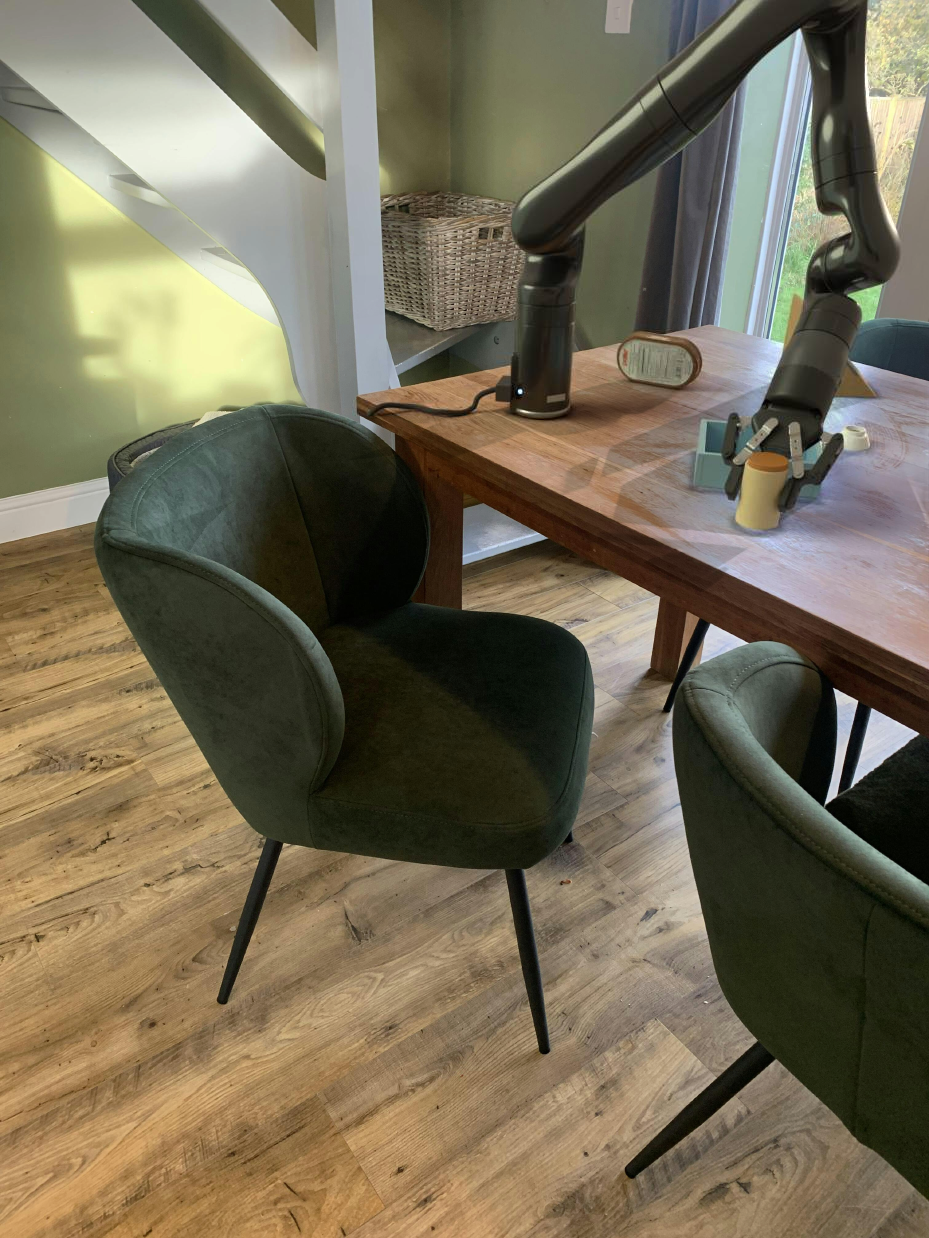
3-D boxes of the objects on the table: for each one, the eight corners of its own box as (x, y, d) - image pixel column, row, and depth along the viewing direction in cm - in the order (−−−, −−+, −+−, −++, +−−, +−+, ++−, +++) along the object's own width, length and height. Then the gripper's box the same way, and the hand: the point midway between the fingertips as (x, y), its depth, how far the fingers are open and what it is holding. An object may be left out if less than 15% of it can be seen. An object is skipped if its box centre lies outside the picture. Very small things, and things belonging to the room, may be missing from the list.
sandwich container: (878, 398, 148) (902, 306, 140) (784, 394, 149) (802, 303, 141) (866, 383, 155) (888, 294, 147) (776, 379, 157) (793, 291, 149)
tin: (699, 388, 152) (706, 339, 147) (692, 393, 150) (700, 343, 145) (619, 375, 159) (623, 327, 154) (612, 379, 156) (616, 331, 152)
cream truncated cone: (825, 443, 130) (844, 455, 126) (829, 424, 128) (848, 435, 124) (855, 440, 131) (875, 453, 126) (860, 421, 129) (880, 433, 125)
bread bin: (692, 490, 115) (698, 453, 113) (696, 452, 126) (701, 418, 124) (816, 502, 112) (825, 465, 109) (809, 463, 123) (817, 428, 120)
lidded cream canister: (734, 531, 105) (746, 465, 100) (734, 514, 109) (746, 449, 105) (777, 536, 104) (792, 469, 99) (776, 518, 108) (790, 453, 103)
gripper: (744, 352, 106) (692, 477, 104) (868, 372, 99) (815, 506, 97) (751, 385, 112) (702, 502, 110) (868, 405, 105) (818, 531, 103)
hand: (755, 503), depth 103 cm, fingers open, 5 cm apart
